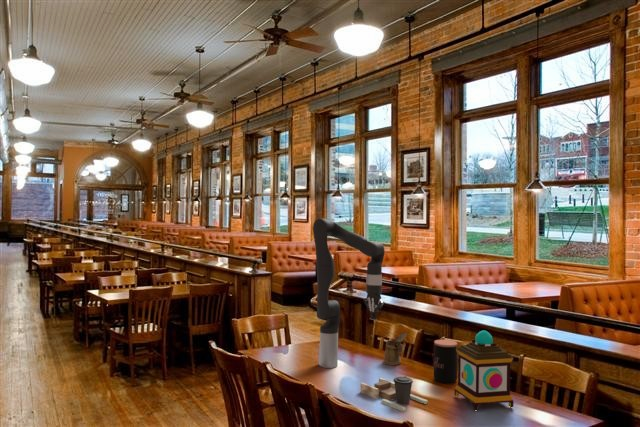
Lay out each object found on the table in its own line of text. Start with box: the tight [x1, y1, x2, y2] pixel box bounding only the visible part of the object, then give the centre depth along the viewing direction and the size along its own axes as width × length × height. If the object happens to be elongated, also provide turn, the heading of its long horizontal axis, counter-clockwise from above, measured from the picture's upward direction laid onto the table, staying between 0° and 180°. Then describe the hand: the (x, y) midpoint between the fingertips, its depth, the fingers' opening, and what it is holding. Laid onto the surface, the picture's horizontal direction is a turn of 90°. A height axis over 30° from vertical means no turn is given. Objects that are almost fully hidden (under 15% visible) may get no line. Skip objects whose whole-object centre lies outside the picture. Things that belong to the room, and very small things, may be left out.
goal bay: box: [381, 393, 429, 413], centre depth 208 cm, size 12×15×1 cm
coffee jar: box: [433, 339, 458, 385], centre depth 237 cm, size 11×11×18 cm
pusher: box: [373, 380, 396, 401], centre depth 215 cm, size 9×7×5 cm
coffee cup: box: [392, 376, 414, 406], centre depth 209 cm, size 8×8×10 cm
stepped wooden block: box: [359, 377, 395, 400], centre depth 219 cm, size 10×12×4 cm
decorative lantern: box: [454, 330, 515, 411], centre depth 210 cm, size 20×20×30 cm
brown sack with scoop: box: [383, 331, 407, 366], centre depth 262 cm, size 9×14×18 cm, turn 35°
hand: (373, 319), depth 244 cm, fingers closed
